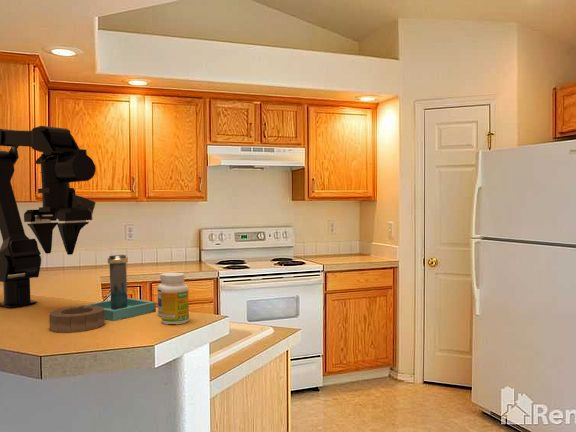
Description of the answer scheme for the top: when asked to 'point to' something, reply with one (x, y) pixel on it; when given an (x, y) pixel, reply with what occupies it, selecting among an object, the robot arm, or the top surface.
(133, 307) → the tray
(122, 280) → the steel pin
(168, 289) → the supplement bottle
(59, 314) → the socket
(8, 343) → the top surface
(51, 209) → the robot arm
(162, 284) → the pill bottle
